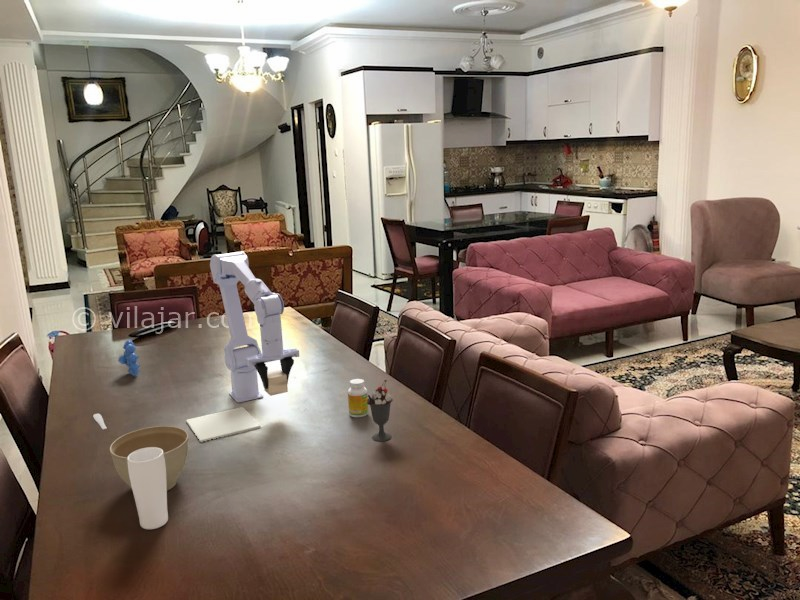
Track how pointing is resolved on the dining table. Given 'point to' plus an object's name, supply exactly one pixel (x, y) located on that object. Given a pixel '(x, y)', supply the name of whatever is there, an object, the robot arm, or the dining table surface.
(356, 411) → the supplement bottle
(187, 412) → the dining table surface
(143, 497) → the drinking glass
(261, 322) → the robot arm
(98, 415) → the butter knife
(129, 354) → the grapes
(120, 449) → the planter bowl
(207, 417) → the pad
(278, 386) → the cube
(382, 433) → the sundae
